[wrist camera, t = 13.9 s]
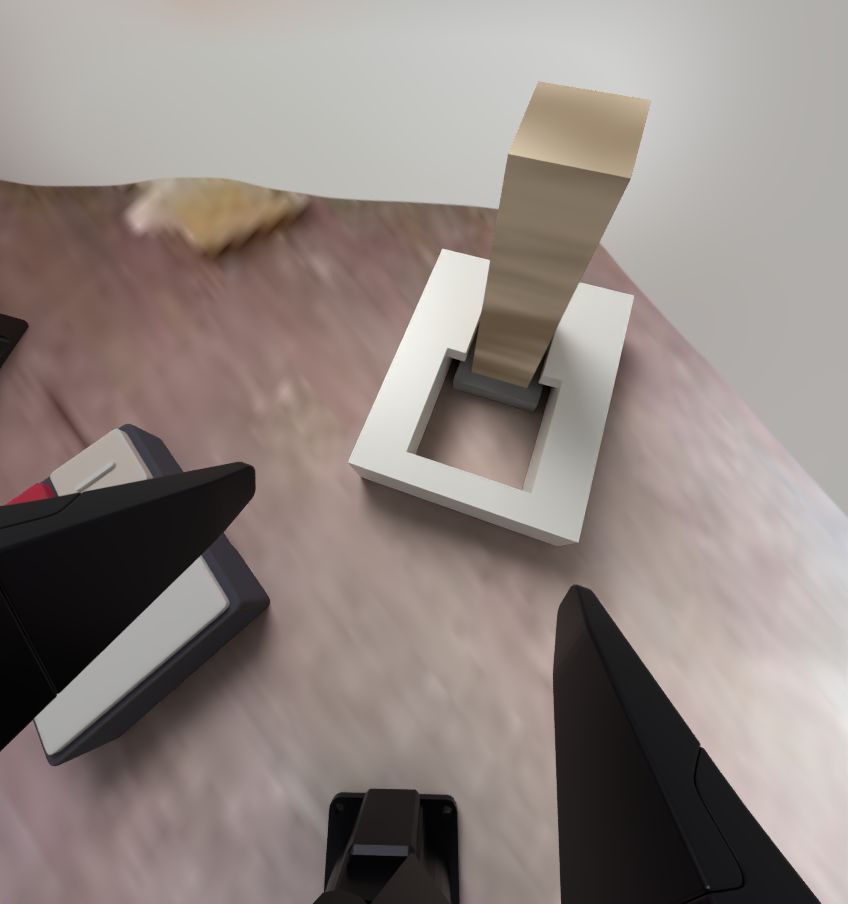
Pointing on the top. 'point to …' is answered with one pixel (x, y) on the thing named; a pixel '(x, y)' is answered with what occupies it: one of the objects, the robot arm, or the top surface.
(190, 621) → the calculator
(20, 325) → the phone stand
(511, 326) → the keyhole post
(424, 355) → the keyhole plate
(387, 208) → the top surface
